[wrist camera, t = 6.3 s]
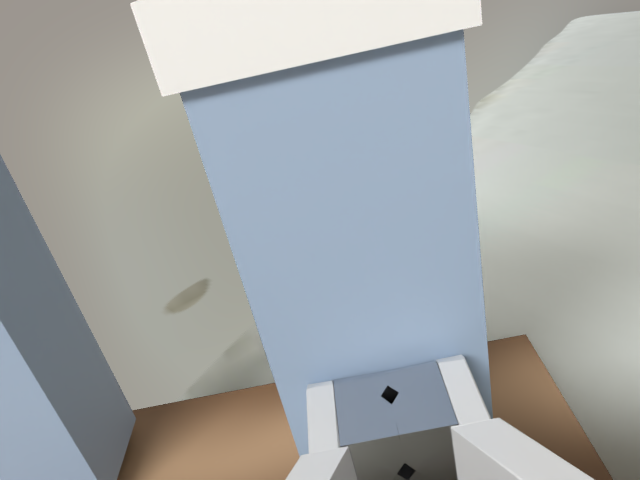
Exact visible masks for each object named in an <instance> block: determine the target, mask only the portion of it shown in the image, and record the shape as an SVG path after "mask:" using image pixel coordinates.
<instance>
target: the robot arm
mask: <svg viewBox="0 0 640 480" xmlns="http://www.w3.org/2000/svg"><path fill="white" fill-rule="evenodd" d="M306 399H307V423H308V447H309V454H304V455H301V456H300V458H299V459H298V461H297V462H296V464H295V465H294V467H293V468H292V470H291V471H290V473H289V475H288V476H287V478H286V479H285V480H594V479H593V478H591V477H590V476H588V475H587V474H585V473H584V472H582V471H581V470H579V469H578V468H576V467H574V466H573V465H571V464H570V463H568V462H567V461H565V460H564V459H562V458H561V457H559V456H558V455H556V454H555V453H553V452H551V451H550V450H548V449H547V448H545V447H544V446H542V445H541V444H539V443H538V442H536V441H535V440H533V439H532V438H530V437H528V436H527V435H525V434H524V433H522V432H521V431H519V430H518V429H516V428H515V427H513V426H512V425H510V424H509V423H507V422H505V421H504V420H502V419H501V418H494V419H491V417H490V415H489V413H488V410H487V408H486V406H485V403H484V401H483V399H482V396H481V394H480V392H479V389H478V387H477V385H476V382H475V380H474V378H473V375H472V373H471V371H470V368H469V366H468V364H467V361H466V359H465V357H464V356H463V355H456V356H451V357H447V358H442V359H437V360H436V361H429V362H424V363H419V364H414V365H410V366H405V367H400V368H395V369H390V370H385V371H381V372H375V373H369V374H363V375H357V376H351V377H346V378H340V379H334V380H332V381H326V382H320V383H314V384H308V385H307V390H306Z"/></svg>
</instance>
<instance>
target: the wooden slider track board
mask: <svg viewBox="0 0 640 480" xmlns="http://www.w3.org/2000/svg"><path fill="white" fill-rule="evenodd" d="M487 346H488V359H489V372H490V385H491V398H492V411H493V419H494V418H501V419H502V420H504V421H505V422H507V423H509V424H510V425H512V426H513V427H515V428H516V429H518V430H519V431H521V432H522V433H524V434H525V435H527V436H528V437H530V438H532V439H533V440H535V441H536V442H538V443H539V444H541V445H542V446H544V447H545V448H547V449H548V450H550V451H551V452H553V453H555V454H556V455H558V456H559V457H561V458H562V459H564V460H565V461H567V462H568V463H570V464H571V465H573V466H574V467H576V468H578V469H579V470H581V471H582V472H584V473H585V474H587V475H588V476H590V477H591V478H593V479H594V480H613V479H612V477H611V475H610V474H609V472H608V470H607V469H606V467H605V465H604V464H603V462H602V460H601V459H600V457H599V455H598V454H597V452H596V450H595V449H594V447H593V445H592V444H591V442H590V441H589V439H588V437H587V436H586V434H585V432H584V431H583V429H582V427H581V426H580V424H579V422H578V421H577V419H576V417H575V416H574V414H573V412H572V411H571V409H570V407H569V406H568V404H567V402H566V401H565V399H564V397H563V396H562V394H561V392H560V391H559V389H558V387H557V386H556V384H555V382H554V381H553V379H552V377H551V376H550V374H549V372H548V371H547V369H546V367H545V366H544V364H543V362H542V361H541V359H540V357H539V356H538V354H537V352H536V351H535V349H534V347H533V346H532V344H531V342H530V341H529V339H528V337H527V336H526V334H525V335H520V336H515V337H510V338H504V339H499V340H494V341H489V342H487ZM132 411H133V413H134V415H135V417H136V421H135V424H134V427H133V430H132V433H131V437H130V440H129V443H128V446H127V449H126V452H125V456H124V459H123V462H122V465H121V468H120V471H119V474H118V478H117V480H285V479H286V478H287V476H288V475H289V473H290V471H291V470H292V468H293V467H294V465H295V464H296V462H297V461H298V459H299V458H300V456H299V453H298V450H297V447H296V444H295V441H294V438H293V435H292V432H291V429H290V426H289V423H288V420H287V417H286V414H285V411H284V408H283V405H282V402H281V399H280V396H279V392H278V389H277V386H276V383H272V384H267V385H262V386H256V387H251V388H246V389H241V390H236V391H231V392H225V393H220V394H215V395H210V396H205V397H200V398H194V399H189V400H184V401H179V402H174V403H169V404H163V405H158V406H153V407H148V408H143V409H138V410H132Z"/></svg>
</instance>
